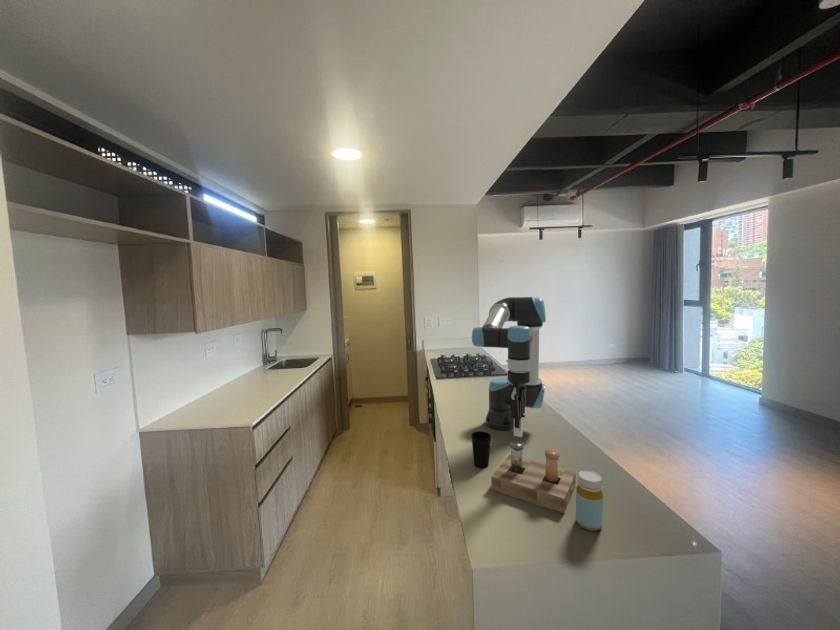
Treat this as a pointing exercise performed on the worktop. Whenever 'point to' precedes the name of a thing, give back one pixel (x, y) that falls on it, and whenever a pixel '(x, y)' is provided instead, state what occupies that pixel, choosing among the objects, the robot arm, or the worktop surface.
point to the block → (534, 484)
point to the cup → (481, 448)
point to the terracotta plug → (552, 464)
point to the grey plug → (517, 455)
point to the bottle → (589, 500)
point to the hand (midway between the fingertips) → (518, 435)
